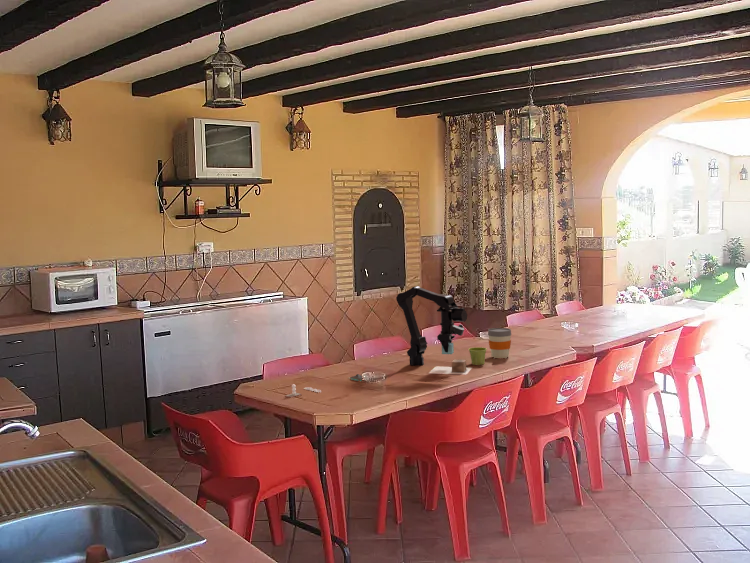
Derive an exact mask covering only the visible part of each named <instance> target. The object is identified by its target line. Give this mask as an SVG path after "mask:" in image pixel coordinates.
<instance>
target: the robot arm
mask: <svg viewBox="0 0 750 563" xmlns="http://www.w3.org/2000/svg"><path fill="white" fill-rule="evenodd" d="M417 296H418V297H421V298H424V299H427V300H429V301H432V302H434V303H435V304H436V305H437V306H439V307H438V308H437V310H436V312H440V324H439V325H440V326H441V328H440V329H441V330H440V333H438V335H437V336H436V337H437V339H436V340H437V341H439V342H440V344H441V347H442V346H443V348H444V350H445V352H448V346H449V343H453V339H455V338H456V336H457V335H458V336H460V337H461V336H463V335H464V331H465V328H464V325H463V324H459V325H455V322H461V323H462V322H464V323H465V322H466V321H467V319H468V314H467V310H466V308H465V307H459V306H458V304H457V303H456V301H455V300H454V297H453V295H450V294H445V293H444V294H442V293H437V292H434V291H431V290H429V289H425V288H423V287H420V286H419V285H418V286H412V287H411V288H409V289H408V290H406V291H403V292H399V293H398V294H397V295H396V296H395V297H396V299H395V300H396V302H397V304H398V307H399V308H400V309H402V311H403V315H404V318H405V321H406V325H407V328H408V331H409V334H410V341H409V344H410V348H409V349H408V350H407V351H406V353H407V356H408V357H409V366H412V367H413V366H415V367H418V366H419V367H420V366H424V365H425V362H424V360H425V359H424V356H423V355H424V354H425V351H426V350H427V347H428V345H427V344H428V342H427V338H426V336H425V335H424V336H423V335H421V332H420V330H419V326H418V323H417V320H416V317H415V313H414V310H413V305H414V300H413V299H414V298H416V297H417Z"/></svg>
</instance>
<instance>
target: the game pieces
mask: <svg viewBox="0 0 750 563" xmlns="http://www.w3.org/2000/svg"><path fill="white" fill-rule="evenodd" d="M347 379H349V380H350V381H355V382H358V381H360V382H363V381H362V379H363V378H362V375H361V374H359V373H357V374H355V375H354V376H350V377H348V378H347ZM296 387H297V386H296V384H294V383H293V384H291V391H292V392H291V393H289V394H286V395H284V397H285V398H288V397H289V399H292V398H296V397H295V396H297V397H300V396H299V395H301V396H302V395H303V394H302V393H299V392H297V391H296V390H297V388H296ZM303 390H306V391H311V392H313V391H314V393H317V392H318V393H319V392H320V393H322V390H321V389H317V388H313V387H311V386H310V387H303ZM320 393H319V394H320ZM291 397H292V398H291Z"/></svg>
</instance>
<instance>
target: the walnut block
mask: <svg viewBox="0 0 750 563" xmlns="http://www.w3.org/2000/svg"><path fill="white" fill-rule="evenodd" d="M451 367H452V372H465V371H466V367H467V360H466V359H453V360H452V361H451Z"/></svg>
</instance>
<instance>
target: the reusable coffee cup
mask: <svg viewBox="0 0 750 563" xmlns="http://www.w3.org/2000/svg"><path fill="white" fill-rule="evenodd" d="M487 336H488V347H489V349H490V353H491V358H492V357H494V358H493V359H495V358H505V359H508V358H509V354H510V349H511V343H512V339H511V337H512V329H511V328H507V327H494V328H488V329H487ZM507 357H508V358H507Z"/></svg>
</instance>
